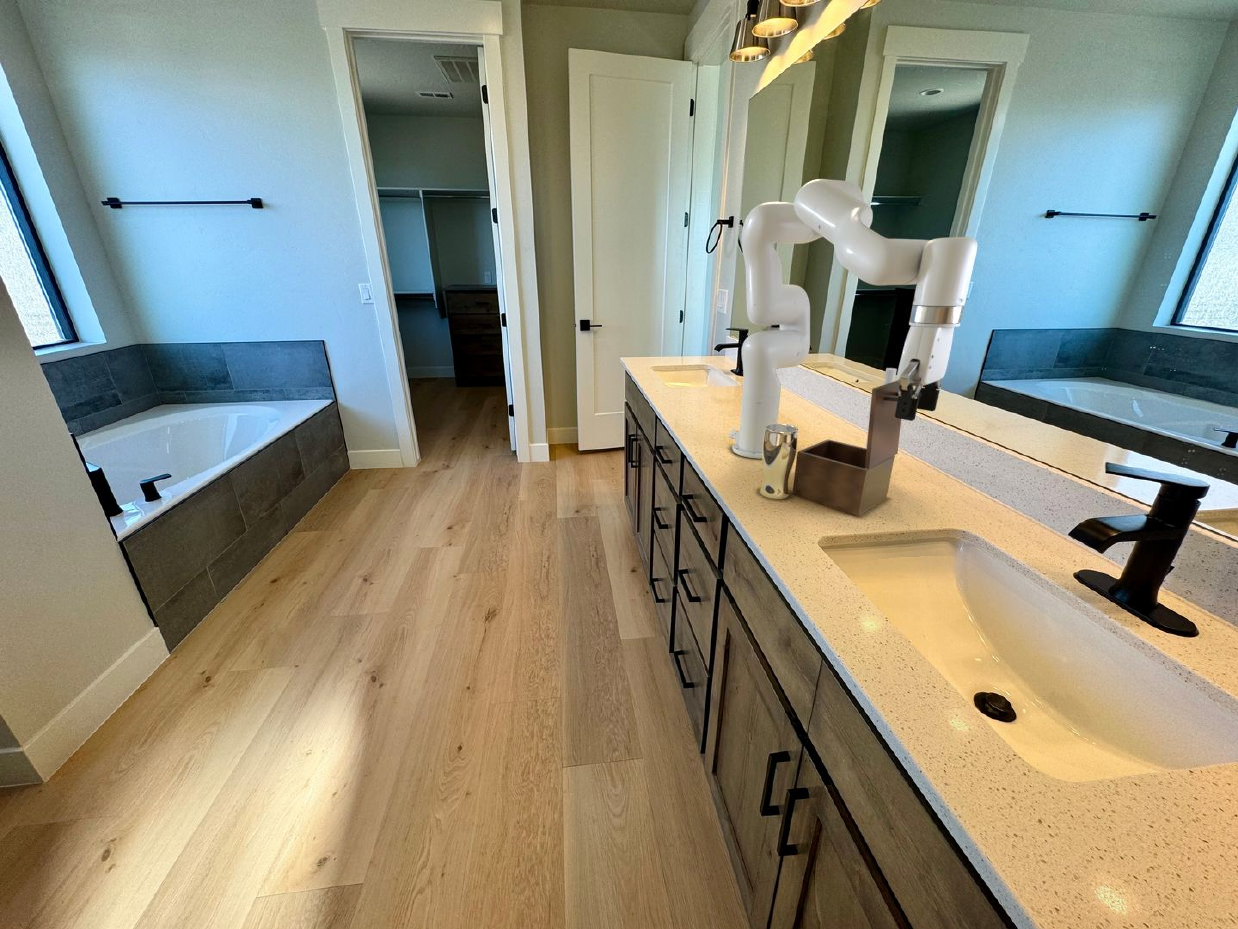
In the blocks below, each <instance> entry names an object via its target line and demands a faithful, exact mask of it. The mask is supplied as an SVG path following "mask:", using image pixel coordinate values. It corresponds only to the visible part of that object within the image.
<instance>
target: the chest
mask: <svg viewBox="0 0 1238 929" xmlns="http://www.w3.org/2000/svg"><path fill="white" fill-rule="evenodd" d="M866 451H867V449H866V447H861V446H857V445H854V444H849V443H844V442H842V441H837V440H832V439H828V438H827V439H825V440H822V441H820V442H817V443H815V444H813V445H810V446H808V447H806V448H803V449H801V450H799V451H796V458H795V460H796V461H795V468H794V475H793V476H794V478H793V485H792V493H791V494H792V495H794V496H798V497H801V498H804V499H807V500H810V501H813V502H815V503H818V504H820V505H824V506H827V507H829V508H832V509H835V510H838V511H841V512H844V513H847V514H850V515H853V516H855V517H860V516H861V515H863V514H864V513H866V512H868V511H869V510H871V509H872V508H874V507H876V506H877V505H879V504H880V503H882V502H883V501H884V500H886V499H887V497H888V493H889V492H888V491H889V488H890V482H891V479H892V478H891V477H892V473H893V467H894V463H895V457H896V455H894V456H892V457H890V458H888V459H887V460H885V461H883V462H881V463H879V464H877V465H875V466H873V467H872V468H870V469H867V468H865V462H866Z"/></svg>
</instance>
